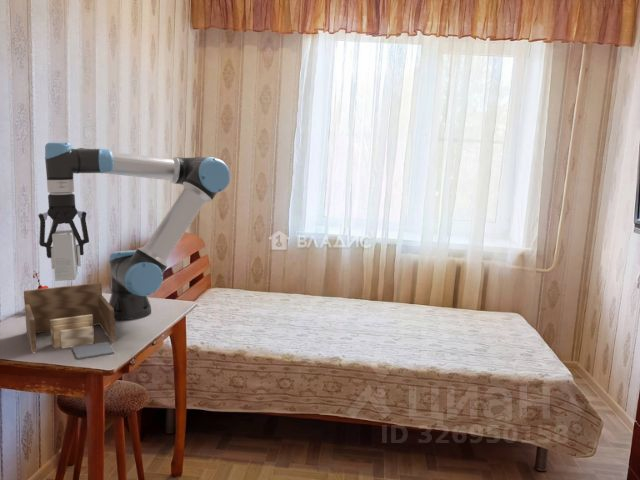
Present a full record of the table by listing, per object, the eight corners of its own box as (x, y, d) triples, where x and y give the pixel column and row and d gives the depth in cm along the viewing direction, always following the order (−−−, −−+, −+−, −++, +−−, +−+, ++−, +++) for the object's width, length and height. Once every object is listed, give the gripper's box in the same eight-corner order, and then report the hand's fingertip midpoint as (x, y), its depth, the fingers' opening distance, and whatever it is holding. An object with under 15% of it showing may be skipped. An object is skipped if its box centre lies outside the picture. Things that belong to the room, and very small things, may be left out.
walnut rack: (102, 322, 200) (100, 282, 198) (115, 340, 183) (113, 296, 181) (26, 332, 189) (23, 290, 187) (32, 352, 171) (28, 306, 169)
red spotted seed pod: (49, 313, 210) (47, 272, 208) (30, 313, 210) (27, 272, 208) (58, 307, 218) (56, 268, 216) (39, 307, 218) (37, 268, 215)
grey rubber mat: (107, 343, 180) (107, 341, 180) (114, 353, 171) (114, 351, 171) (72, 348, 175) (72, 347, 175) (77, 359, 166) (77, 357, 166)
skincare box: (59, 275, 188) (54, 229, 185) (79, 274, 189) (75, 228, 187) (54, 281, 180) (50, 233, 177) (76, 280, 181) (71, 232, 179)
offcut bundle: (93, 338, 184) (91, 314, 183) (95, 343, 180) (94, 317, 179) (51, 345, 178) (49, 319, 177) (53, 349, 174) (51, 323, 173)
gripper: (26, 195, 172) (32, 272, 176) (97, 193, 182) (101, 265, 185) (24, 193, 178) (30, 267, 182) (93, 191, 188) (97, 261, 192)
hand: (66, 266), depth 184 cm, fingers closed on skincare box, 7 cm apart
